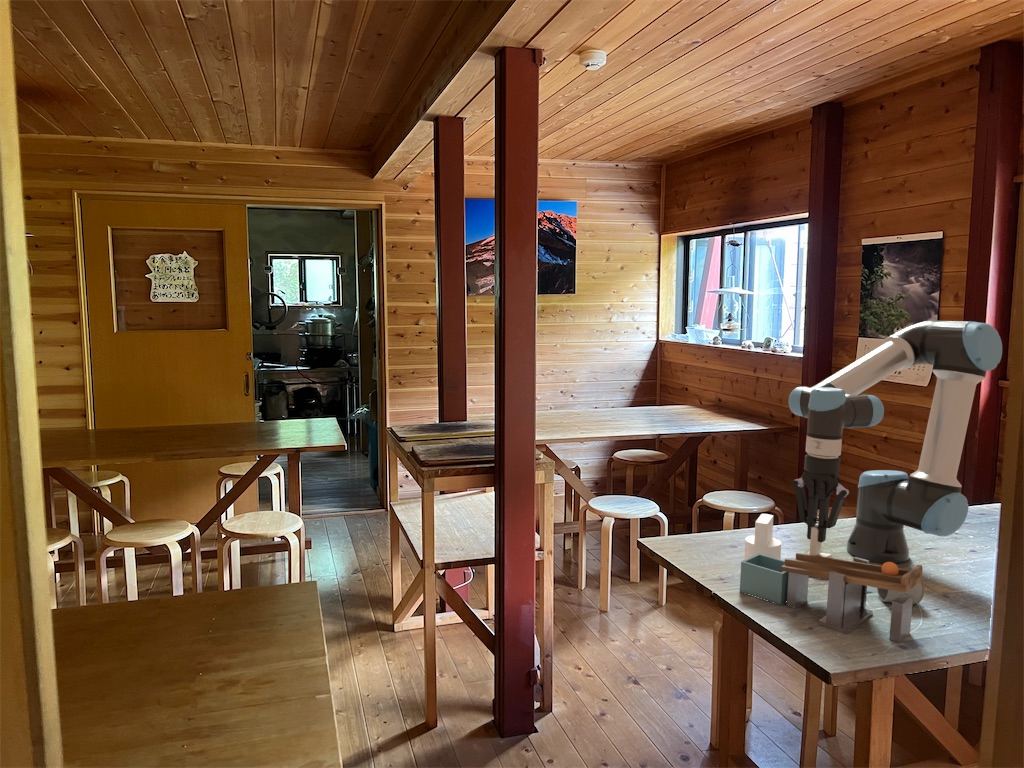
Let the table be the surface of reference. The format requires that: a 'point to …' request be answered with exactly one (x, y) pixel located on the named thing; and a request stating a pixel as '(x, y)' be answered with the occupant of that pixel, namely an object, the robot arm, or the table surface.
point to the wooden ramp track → (853, 571)
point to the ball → (890, 569)
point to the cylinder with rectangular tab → (763, 539)
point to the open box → (764, 578)
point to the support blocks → (850, 604)
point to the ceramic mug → (891, 595)
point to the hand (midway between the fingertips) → (814, 553)
